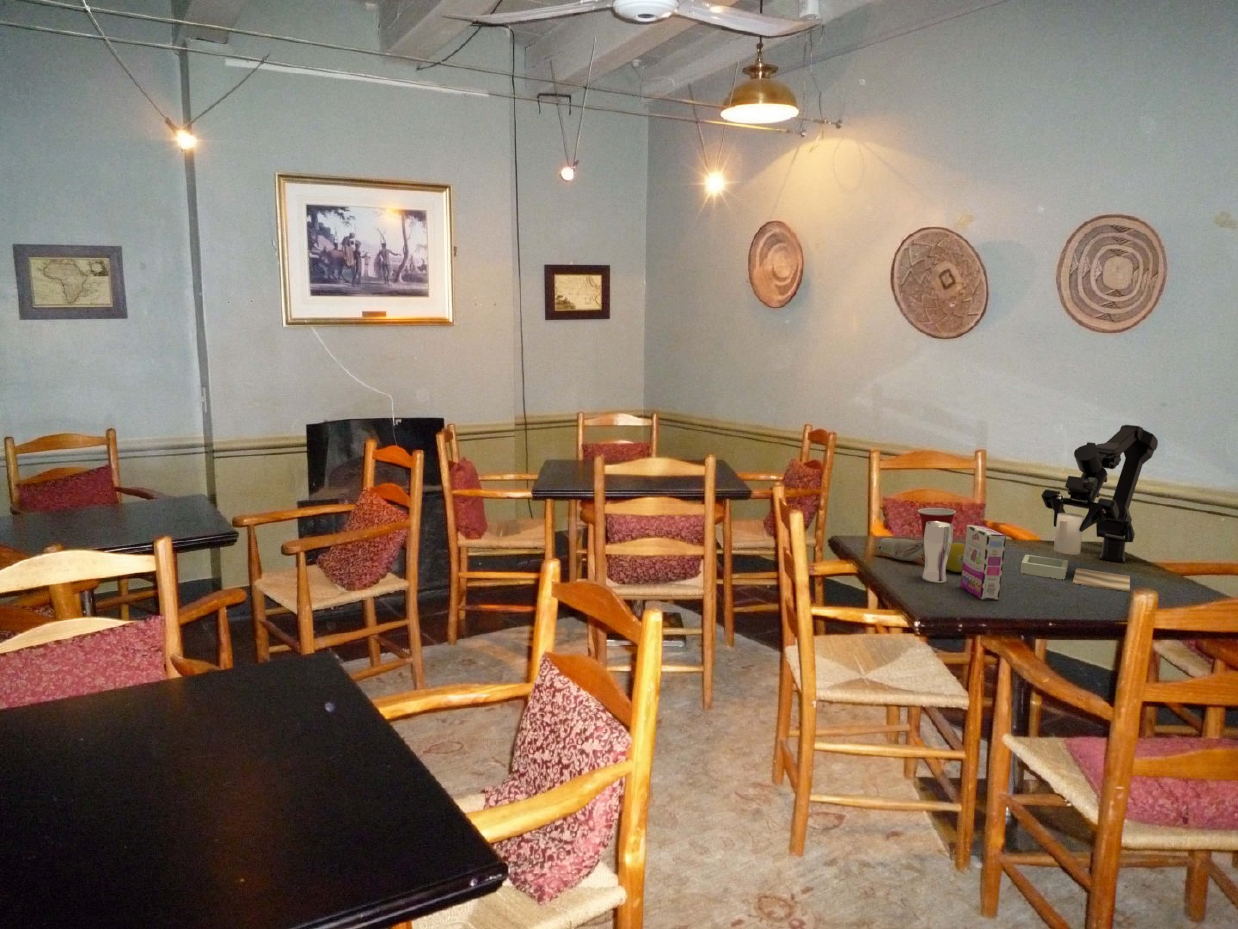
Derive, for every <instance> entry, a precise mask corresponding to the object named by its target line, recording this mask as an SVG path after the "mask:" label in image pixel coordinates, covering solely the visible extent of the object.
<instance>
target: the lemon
mask: <svg viewBox="0 0 1238 929" xmlns="http://www.w3.org/2000/svg"><path fill="white" fill-rule="evenodd" d="M964 547H965V543H962V542H952V546H951V551H950V554H949V558H948V561H947V565H946V571H947V570H948V571H950V572H952V573H962V566H963V557H964Z"/></svg>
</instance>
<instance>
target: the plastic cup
mask: <svg viewBox="0 0 1238 929" xmlns="http://www.w3.org/2000/svg"><path fill="white" fill-rule="evenodd" d="M917 512H918V514H919V518H920V522H921V531H922V537H923V538H922V539H923V540H924V533H925V528H926V522H929V521H939V522H946V523H950V524H952V523H953V520H954V516H955V514H956V513H957V512H956V510H954V509H950V508H943V507H942V508H941V507H927V508H926V507H925V508H921V509H918V510H917Z"/></svg>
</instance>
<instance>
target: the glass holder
mask: <svg viewBox="0 0 1238 929" xmlns="http://www.w3.org/2000/svg"><path fill="white" fill-rule="evenodd" d="M1068 566H1069V560H1066V559H1062V558H1061V559H1060V558H1054V557H1053V558H1052V557H1049V556H1048V557H1047V556H1039V555H1033V554H1025V555H1024V556H1023V558H1022V561H1021V565H1020V574H1023V573H1025V574H1024V575H1031V576H1036V577H1045V578H1049V577H1051V578H1050V579H1055V578H1056V580H1062V579H1063V581H1065V580H1064V579H1066V575H1067V573H1066V572H1068Z"/></svg>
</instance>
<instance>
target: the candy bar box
mask: <svg viewBox="0 0 1238 929" xmlns="http://www.w3.org/2000/svg"><path fill="white" fill-rule="evenodd" d="M965 530H966V531H965V540H964V544H965V547H964V557H963V566H962V572H961V577H960V578H961V579H960V587H961V588H962V589H963V590H964V591H966V592H968V593H969V594H971V595H973V596H975V597H976V598H978V599H980V600H983V601H985V600H986V601H999V600H1000V592H1001V586H1002V585H1001V584H1002V574H1003V565H1004V558H1005V548H1006V539H1007V535H1006V534H1004V533H1001V532H999V531H996V530H994V529H992V528H990V527H988V526H985V525H980V524H979V525H975V524H974V525H972V524H971V525H970V524H967V525H966V529H965Z"/></svg>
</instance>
